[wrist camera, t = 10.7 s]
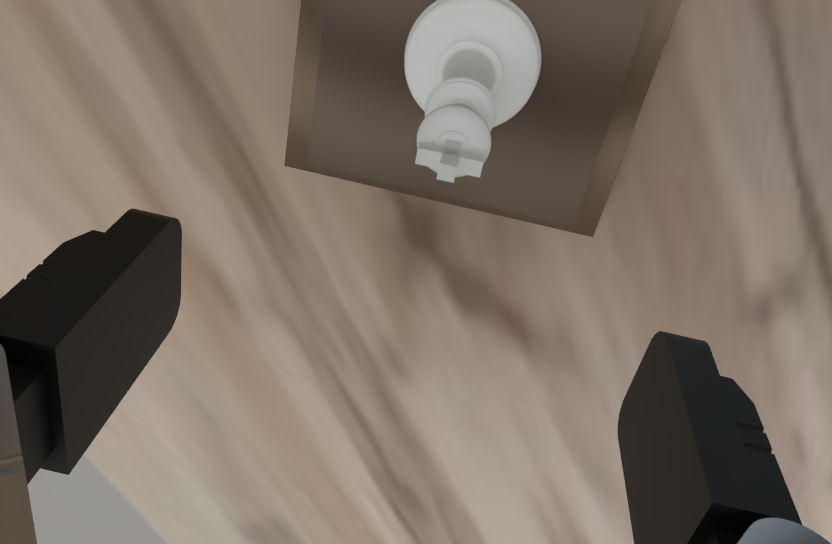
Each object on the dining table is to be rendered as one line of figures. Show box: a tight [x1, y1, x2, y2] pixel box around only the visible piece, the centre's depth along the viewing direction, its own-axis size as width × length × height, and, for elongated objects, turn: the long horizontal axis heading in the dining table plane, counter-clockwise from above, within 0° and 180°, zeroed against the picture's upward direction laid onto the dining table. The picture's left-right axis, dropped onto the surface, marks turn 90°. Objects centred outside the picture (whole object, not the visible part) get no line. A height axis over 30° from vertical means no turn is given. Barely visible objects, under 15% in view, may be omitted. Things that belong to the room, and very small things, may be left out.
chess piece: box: [404, 0, 541, 183], centre depth 22 cm, size 5×5×10 cm
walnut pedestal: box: [285, 0, 681, 237], centre depth 28 cm, size 14×14×6 cm
